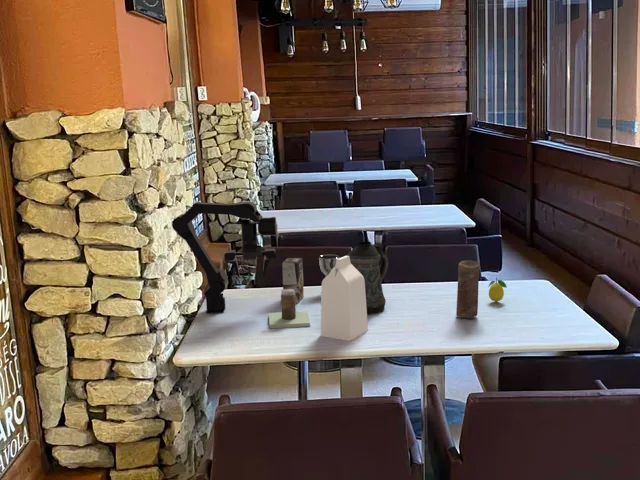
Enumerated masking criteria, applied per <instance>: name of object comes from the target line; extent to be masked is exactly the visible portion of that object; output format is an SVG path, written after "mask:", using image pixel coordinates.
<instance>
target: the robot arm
mask: <svg viewBox="0 0 640 480" xmlns="http://www.w3.org/2000/svg"><path fill="white" fill-rule="evenodd" d="M257 208H258V206H257V205H256V203H255V202H254V201H251V200H246V201H239V202H236V203H235V202H234V203H223V202H201V201H196V202H195V203H193V204H192V206H191V207H190V208H189V209H187V210H186V212H184V213H183V214H179V215H178V216H176V217H175V218H173V220H172V223H171V227H172V229H173V231H175V233H176V234H177V235H178V236H179V237H180V238H182V240H184V241H185V242H186V244H187V245H188V247H189V249H190V250H191V252H192V253H193V255H194V257H195V258H196V259H197V262H198V263H199V266H200V267H201V268H202V270H203V272H204V273H205V276H206V280H207V283H208V286H209V287H208V288H206V290H205V291H204V297H205V301H206V305H205V306H206V313H205V314H219V313H220V314H221V313H224V312H225V310H226V297H224V291H225V289H226V288H227V287H228V285H229V279H228V278H229V276H228V275H227V273H226V272H225V269H224V267H222V268H220V269H219V268H218V267H217V266H216V265H215V263H214V262H213V260H212V258H211V257H210V255H209V254H208V251H207V250H206V249H205V247H204V246H203V244H202V242H201V240H200V239H199V237H198V235H197V234H196V229H195V225H194V223H193V221H194V220H195V219H196V218H197V217H198V216H199V215H200V214H204V215H205V214H206V215H207V214H209V215H227V216H228V215H230V216H233V217H237V218H238V220H237V221H236V222H235V225H236V226H237V225H239V226H240V227H241V229H240V233H241V251H240V252H236V249H233V250H232V249H229V250H225V252H224V257H223V258H224V261H225V262H227V261H228V263H229V264H231V265H232V266H233V268H234V272H235V273H236V275H237V277H238V279H240V270H239V264H238V258H243V260H245V261H248V260H256V259H257V258H258V257H263V266H262V267H263V268H262V277H263V278H264V277H265V275H266V273H267V272H266V271H267V268H268V265H269V264H270V262H273V260H274V259H276V257H277V255H276V253H277V252H276V249H275V248H274V247H273V248H264V250H262V249H263V248H262V245H258V234H260V236H263V237H264V236H265V237H266V236H268V237H269V236H272V237H273V236H278V224H277V223H278V222H277V217H276V216H271V217H263V215H262V214H261V213H260V212H259V210H258V209H257Z"/></svg>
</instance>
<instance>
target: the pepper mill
mask: <svg viewBox="0 0 640 480" xmlns="http://www.w3.org/2000/svg"><path fill="white" fill-rule="evenodd" d="M280 291H281V294H280V302H281V303H280V306H281V307H280V308H281V309H280V310H281V312H282V319H283V320H293V319H295V318H296V312H297V311H296V309H297V308H296V307H297V306H296V303H295V293H294V290H293V289H284V290H283V289H281V290H280Z"/></svg>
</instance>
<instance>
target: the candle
mask: <svg viewBox="0 0 640 480" xmlns="http://www.w3.org/2000/svg"><path fill="white" fill-rule="evenodd" d="M457 269H458V271H457V292H456V293H457V296H456V314H455V316H456V317H458V318H461V319H467V320H468V319H469V320H471V319H473V318H475V317H477V316H478V313H479V310H478V309H479V279H480V264H479V262H478V261H475V260H470V259H469V260H461V261H460V262H459V263H458V267H457Z"/></svg>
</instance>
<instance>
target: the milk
mask: <svg viewBox="0 0 640 480" xmlns="http://www.w3.org/2000/svg"><path fill="white" fill-rule="evenodd" d="M320 295H321V299H320V301H321V302H320V307H321V308H320V337H325V338H326V337H327V338H331V339H338V340H342V341H347V342H352V341H353V340H355V339H357V338H359V337H360V336H361V335H364V334H365V333H366V332H369V325H368V322H369V321H368V315H367V307H366V293H365V280H364V277H363V276H362V274H361V273H360V272H359V271H358V270H357V269H356V268H355V267H354V266H353V265H352V264H351V262H350V257H349V256H347V255H344V256H342V257H339V259H337V261H336V265H335V267H334V268H333V269H332V270H331V272H330V273H329V274H328V275H327V276H326V275H325V277H324V278H323V279H322V281H321V292H320ZM351 340H352V341H351Z"/></svg>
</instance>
